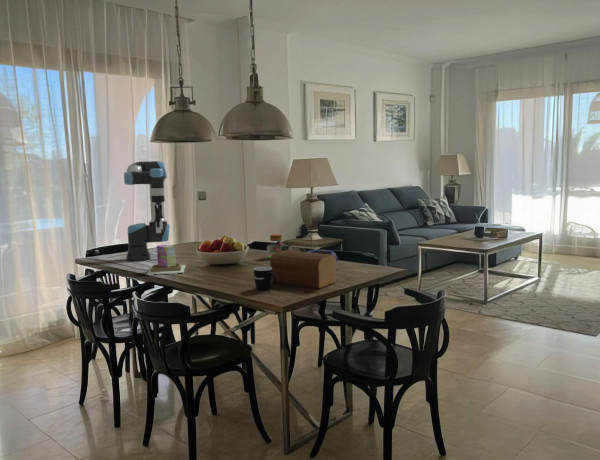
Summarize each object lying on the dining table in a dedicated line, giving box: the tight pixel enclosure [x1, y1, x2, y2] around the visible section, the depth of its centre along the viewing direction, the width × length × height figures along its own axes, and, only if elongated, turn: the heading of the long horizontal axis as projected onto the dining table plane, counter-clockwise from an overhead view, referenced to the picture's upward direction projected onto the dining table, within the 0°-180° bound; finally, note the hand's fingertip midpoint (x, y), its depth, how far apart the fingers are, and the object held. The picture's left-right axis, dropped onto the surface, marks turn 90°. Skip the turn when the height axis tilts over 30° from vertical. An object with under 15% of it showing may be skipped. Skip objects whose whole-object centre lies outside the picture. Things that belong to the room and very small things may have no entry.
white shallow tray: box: [146, 262, 186, 276], centre depth 303 cm, size 22×20×3 cm
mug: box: [253, 266, 276, 291], centre depth 254 cm, size 12×9×10 cm
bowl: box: [307, 249, 339, 263], centre depth 301 cm, size 18×18×10 cm
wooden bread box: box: [269, 249, 337, 289], centre depth 266 cm, size 18×30×16 cm, turn 56°
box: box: [156, 244, 177, 267], centre depth 302 cm, size 10×6×12 cm, turn 47°
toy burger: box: [266, 233, 284, 260], centre depth 339 cm, size 12×13×15 cm
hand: (159, 231), depth 307 cm, fingers open, 13 cm apart
